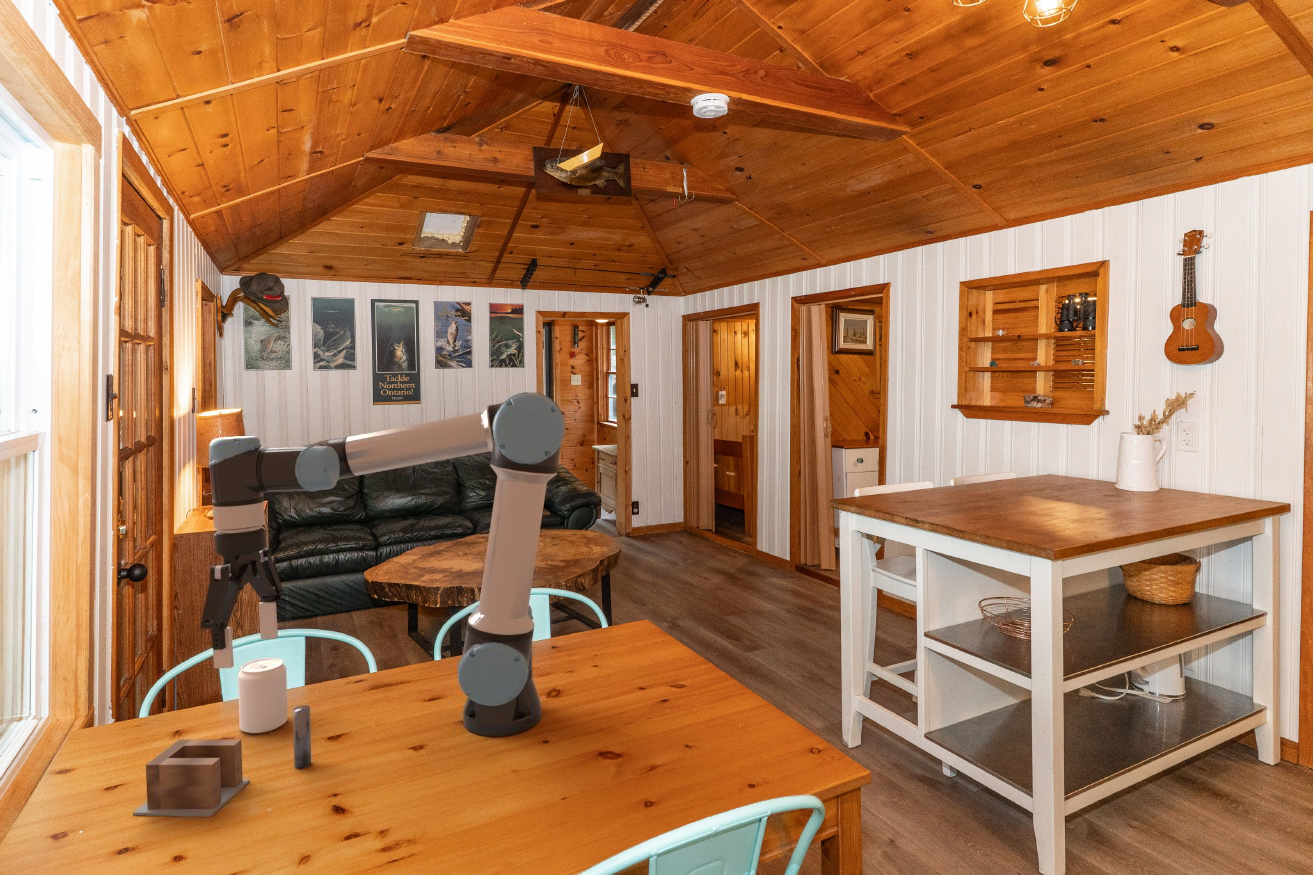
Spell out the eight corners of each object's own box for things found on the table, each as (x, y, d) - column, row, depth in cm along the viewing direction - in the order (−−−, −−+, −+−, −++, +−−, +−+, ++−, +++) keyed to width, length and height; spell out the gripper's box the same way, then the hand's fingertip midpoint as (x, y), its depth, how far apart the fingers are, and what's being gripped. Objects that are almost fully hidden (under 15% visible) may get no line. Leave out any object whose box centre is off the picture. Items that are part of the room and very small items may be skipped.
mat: (249, 781, 119) (249, 778, 119) (210, 816, 109) (210, 814, 109) (178, 779, 119) (178, 777, 119) (132, 814, 109) (132, 812, 109)
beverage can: (267, 737, 134) (265, 674, 133) (229, 733, 136) (227, 670, 135) (297, 718, 142) (295, 658, 141) (261, 714, 143) (259, 655, 143)
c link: (147, 809, 110) (145, 764, 110) (180, 780, 118) (179, 739, 118) (213, 808, 110) (212, 764, 110) (242, 780, 118) (241, 739, 118)
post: (314, 761, 126) (312, 705, 125) (306, 769, 123) (305, 711, 122) (299, 760, 126) (298, 704, 125) (291, 768, 123) (290, 711, 122)
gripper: (258, 515, 134) (265, 628, 135) (167, 545, 109) (177, 682, 110) (298, 514, 134) (305, 627, 135) (217, 543, 109) (226, 680, 110)
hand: (248, 652), depth 123 cm, fingers open, 13 cm apart
